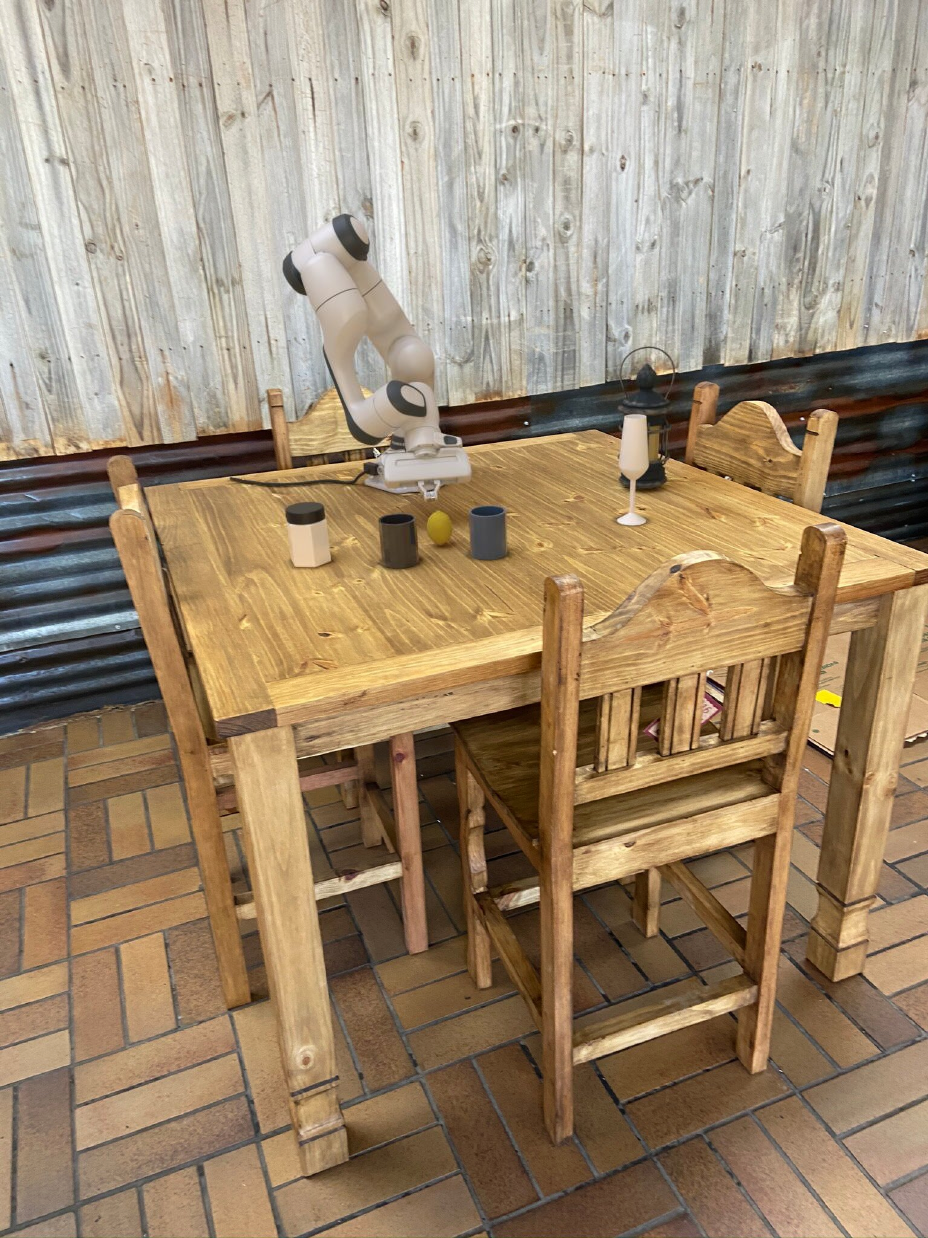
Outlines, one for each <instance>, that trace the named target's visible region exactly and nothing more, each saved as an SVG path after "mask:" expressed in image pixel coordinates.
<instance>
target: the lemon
mask: <svg viewBox="0 0 928 1238" xmlns="http://www.w3.org/2000/svg"><path fill="white" fill-rule="evenodd" d="M426 532H427V536H428V538H429V539H430V540H431V542H433V543H435V544H437V545H438V546H443V545H444V543H446V542H448V541H449V540H450V539H451V536H452V533H453V524H452V521H451V518H450V516H449V515H448V514H447V513H445V512H443V511H441V510H436V511H435V512H433V513H431V515H430V516H429V517H428V519H427V523H426Z"/></svg>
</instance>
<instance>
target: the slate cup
mask: <svg viewBox="0 0 928 1238" xmlns="http://www.w3.org/2000/svg"><path fill="white" fill-rule="evenodd" d="M507 516H508V515H507V509H506V508H505V507H503V506H500V505H493V504H491V505H490V504H488V505H487V504H486V505H479V506H474V507H472V508H471V509H469V511H468V530H469V531H468V532H469V546H470V547H469V548H470V549H469V551H470V556H471V557H472V558H473V559H477V560H480V561H481V560H483V561H494V560H498V559H502V558H505V557H506V556H507V555H508V525H507V524H508V519H507Z"/></svg>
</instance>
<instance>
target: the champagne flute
mask: <svg viewBox="0 0 928 1238" xmlns="http://www.w3.org/2000/svg"><path fill="white" fill-rule="evenodd" d="M623 418H624V425H623V433H622V432H621V441H620V449H619V454H620V457H619V459H618V468H619V470H620V473H621V472H622V473H623V474H624V475H625V476H626V477H627V478H628V479H630V488H629V509H628V510H629V512H627V513H626V514H624V515H622V516H621V517H619V518H617V519H616V522H617V523H619V524H621V525H625V526H639V525H643V524H645V523H647V519H646V518H645V517H642V516H641V515H640V514H637V513H636V512H635V510H636V508H635V507H636V489H635V484H636V480H637V479H638V478H640V477H641V476H642V475H643V474H644V473H645V472H646V470H647V469H648V467H649V460H648V441H647V422H646V416H645V415H639V414H633V415H626V416H625V417H623Z"/></svg>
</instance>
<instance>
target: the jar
mask: <svg viewBox="0 0 928 1238" xmlns="http://www.w3.org/2000/svg"><path fill="white" fill-rule="evenodd" d="M325 511H326V510H325V505H324V504H323V503H321V502H317V501H302V502H296V503H293V504H290V505H288V506H287V507H285V509H284V512H285V513H284V514H285V515H284V516H285V524H286V531H287V538H288V545H289V552H290V560H291V561H292V563H293V566H294V567H295V568H318V567H320V566H322V565H325V564H327V563H330V562H332V556H331V547H330V546H331V545H330V538H329V528H328V520H327V518H326V512H325Z"/></svg>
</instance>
